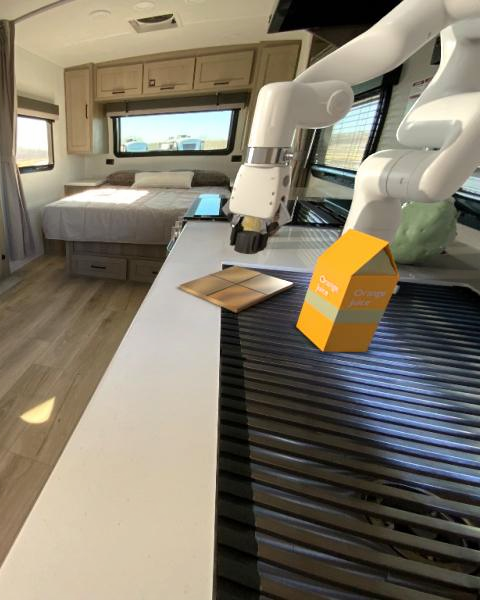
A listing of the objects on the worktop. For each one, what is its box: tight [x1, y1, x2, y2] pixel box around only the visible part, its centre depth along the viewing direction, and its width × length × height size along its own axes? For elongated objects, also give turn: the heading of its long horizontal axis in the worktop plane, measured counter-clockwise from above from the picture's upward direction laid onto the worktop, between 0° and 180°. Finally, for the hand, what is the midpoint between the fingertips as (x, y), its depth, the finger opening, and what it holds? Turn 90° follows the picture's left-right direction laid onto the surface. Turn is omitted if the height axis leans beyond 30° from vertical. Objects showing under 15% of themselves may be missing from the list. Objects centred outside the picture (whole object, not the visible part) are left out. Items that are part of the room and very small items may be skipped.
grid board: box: [178, 265, 294, 314], centre depth 84 cm, size 16×24×1 cm, turn 124°
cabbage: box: [390, 195, 461, 265], centre depth 94 cm, size 16×19×20 cm
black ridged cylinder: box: [233, 230, 259, 255], centre depth 72 cm, size 5×5×4 cm
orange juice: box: [295, 229, 401, 353], centre depth 58 cm, size 8×9×20 cm
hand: (246, 246), depth 72 cm, fingers closed on black ridged cylinder, 4 cm apart
